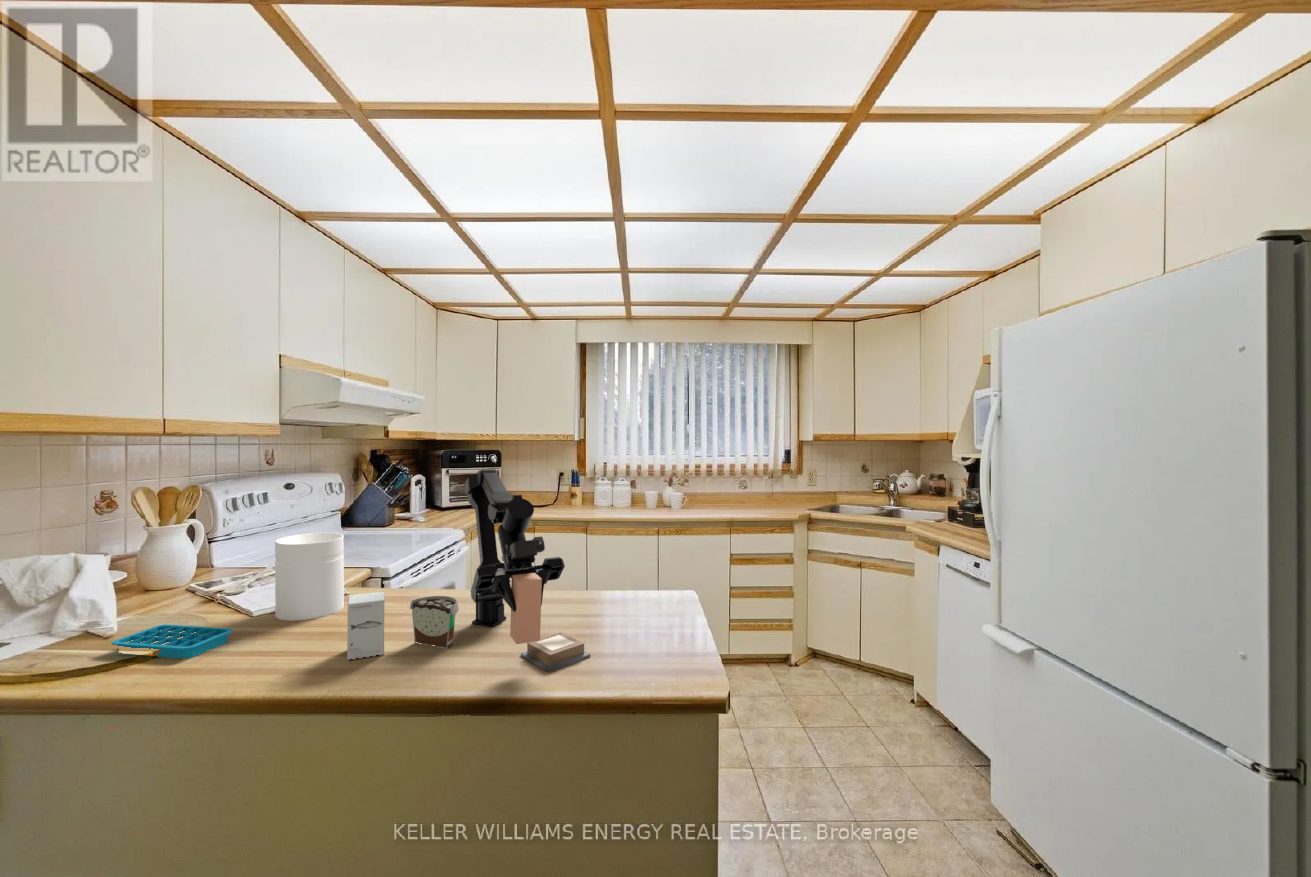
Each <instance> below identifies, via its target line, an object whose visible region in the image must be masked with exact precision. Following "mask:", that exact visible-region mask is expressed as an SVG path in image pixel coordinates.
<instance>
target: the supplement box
mask: <svg viewBox="0 0 1311 877" xmlns="http://www.w3.org/2000/svg"><path fill="white" fill-rule="evenodd" d="M346 638H347V641H346V642H347V643H346V644H347V646H346V647H347V648H346V649H347V650H346V652H347V654H346V657H347V659H348V660H349V659H353V658H359V659H364V658H363V657H366V658H370V656H372V657H377V656H376V655H380V656H383V655H382V654H385V592H384V591H377V592H370V593H369V592H368V593H358V594H351V595H348V598H347V637H346ZM348 660H347V661H348ZM353 660H354V659H353Z"/></svg>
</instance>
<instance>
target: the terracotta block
mask: <svg viewBox="0 0 1311 877" xmlns="http://www.w3.org/2000/svg"><path fill="white" fill-rule="evenodd" d="M510 586H511V589H512V593H513V596H514V599H515V603H516V611H515V612H513V610H512V609H511V608H510V624H509V625H510V628H509V629H510V630H509V632H510V633H509V636H510V637H511V639H512V640H513V641H514V643H515V644H516V645H521V644H527V643H528V642H533V641H539V640H540V639H541V623H542V622H541V620H542V606H541V590H542V579H541V578H540V577H539V576H538V575H537V574H536V573H528V574H519V575H512V578H511V583H510Z"/></svg>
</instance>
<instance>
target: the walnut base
mask: <svg viewBox="0 0 1311 877" xmlns="http://www.w3.org/2000/svg"><path fill="white" fill-rule="evenodd" d="M526 644H527V645H526V646H527V647H526V648H527V649H526V650H527V651H524V652H521V653H520V657H522V658H524V659H525V660H527V661H528V662H530V663H532V664H534V665H536V666H538V667H539V668H541V669H543V670H544V671H547V672H548V673H550V672H552V671H555V670H559V669H561V668H564V667H567V666H569V665H571V664H575V663H578V662H580V661H583V660H585V659H588V658H590V657H591V653H589V652H587V651H586V650H585V642H583V641H580V640H578V639H576V638H574V637H572V636H569V635H567V634H565V633H564V632H561V631H560V632H557V633H553V634H550V635H547V636H544V637H542V638H541V637H540V640H539V641H533V642H527V643H526Z"/></svg>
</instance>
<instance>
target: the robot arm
mask: <svg viewBox="0 0 1311 877" xmlns="http://www.w3.org/2000/svg"><path fill="white" fill-rule="evenodd" d="M464 482H465V483H464V494H465V495H466V496H467V502H468V503H469V505H470V506H471V507H472V508H473V509H474V511H475V512H474V513H475V522H476V532H477V543H478V551H479V552H478V553H479V565H478V567H477V568H476V571H475V573H474V577H473V582H472V585H471V588H470V596H471V597H470V598H471V600H472V601H473V602H474V603H475V619H474V620H472V621H471V624H473V625H479V626H480V625H481V626H484V627H485V626H487V627H494V626H496V625H498V624H499V623H502V622H503V621H505V620H506V619H507V616H505V603H506V604H507V605H508V607H509V608H510V610H511V609H512V610H513V612H515V611H516V603H515V599H514V596H513V593H512V589H511V580H510V579H512V575H519V574H528V573H536V574H537V575H538V576H539V577H540V578H541V579H542V590H541V607H542V604H543V598H544V596H543V595H544V587H545V585H546V584H548V581H556V580H558V579H560V577H561V575H562V572H563V571H564V568H565V563H564V562H565V561H564V559H563V558H561V557H560V556H555V557H548V558H547V557H546V558H544V560H543V561H542V564H540V565H532V564H533V563H535V561H536V557H535V556H538V553H542V552H544V551H545V549H546V547H545V541H544V538H543V536H542V535H541V536H535V537H534V538H532V539H529V540H527V538H526V535H525V532H526V531H527V529H528V528H529V526H530V522H531V520H532V517H533V515H534V511H535V508H534V505H533V504H532V502H531V501H529V500H528V499H525V498H523V496H522V494H513V493H511V492H509V491H508V490H507V488H506V486H505V484H504V483H503V480H502V479H501V477H500V472H499V470H498V469H496V468H494V469H493V468H492V469H480V470H477V472H476V473H475V474H472V475H470V476H469V477H467V479H466V480H465V481H464ZM497 524H499V526H498V528H497V535H498V541H499V544H500V550H501V554H502V555H501V560H502V562H501V560H500V559H499V556H498V549H497V548H498V547H497V538H496V529H495V525H497ZM504 601H505V603H504Z"/></svg>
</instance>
